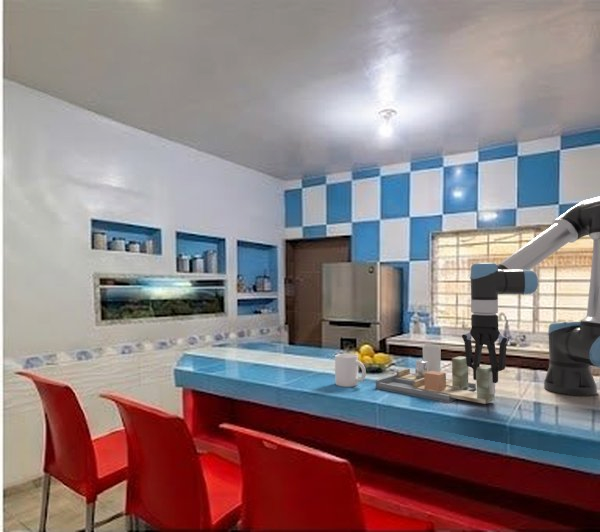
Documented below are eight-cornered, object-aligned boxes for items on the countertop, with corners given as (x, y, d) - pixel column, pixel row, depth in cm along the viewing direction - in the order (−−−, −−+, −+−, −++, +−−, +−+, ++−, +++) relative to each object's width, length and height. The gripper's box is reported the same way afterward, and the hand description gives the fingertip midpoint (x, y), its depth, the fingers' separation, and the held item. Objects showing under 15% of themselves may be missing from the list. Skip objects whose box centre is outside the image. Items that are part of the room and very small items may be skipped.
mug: (371, 385, 152) (371, 356, 152) (358, 390, 145) (358, 359, 146) (343, 380, 159) (343, 352, 160) (330, 384, 153) (330, 355, 154)
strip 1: (469, 386, 146) (468, 356, 146) (460, 390, 141) (459, 359, 141) (406, 376, 162) (406, 349, 162) (396, 379, 156) (396, 352, 157)
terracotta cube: (446, 388, 139) (445, 372, 140) (439, 391, 136) (439, 375, 136) (431, 385, 143) (431, 370, 143) (424, 388, 139) (424, 372, 139)
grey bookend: (436, 379, 161) (436, 347, 162) (420, 377, 166) (419, 345, 166) (446, 375, 169) (446, 344, 170) (430, 372, 173) (430, 343, 174)
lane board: (475, 389, 146) (475, 381, 147) (448, 402, 130) (448, 393, 130) (407, 377, 164) (407, 370, 164) (375, 388, 148) (375, 380, 148)
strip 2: (495, 398, 130) (494, 365, 131) (486, 404, 125) (486, 369, 125) (423, 386, 146) (423, 356, 146) (412, 390, 141) (412, 359, 141)
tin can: (430, 378, 154) (430, 361, 154) (424, 380, 151) (424, 363, 151) (419, 376, 157) (418, 360, 157) (413, 378, 154) (413, 361, 154)
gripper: (516, 314, 127) (518, 394, 126) (462, 312, 138) (464, 385, 137) (508, 316, 121) (510, 399, 120) (453, 313, 132) (454, 390, 131)
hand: (485, 392), depth 129 cm, fingers closed on strip 2, 3 cm apart
